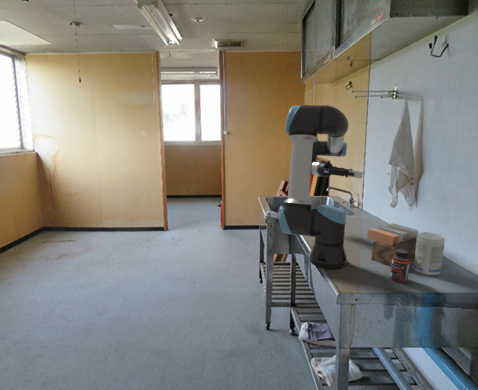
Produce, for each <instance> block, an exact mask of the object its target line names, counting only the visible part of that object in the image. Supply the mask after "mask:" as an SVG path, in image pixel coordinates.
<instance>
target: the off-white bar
mask: <svg viewBox="0 0 478 390" xmlns="http://www.w3.org/2000/svg"><path fill="white" fill-rule="evenodd" d="M387 227H390V228H394V229H397V230H401V231H405V232H408V233H409V237H408V239H410V238H414V237H417V236H418V233H419V230H418V229H415V228H411V227H408V226H404V225H401V224H400V225H399V224H396V223H389V224H387Z"/></svg>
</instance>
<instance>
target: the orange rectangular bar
mask: <svg viewBox="0 0 478 390" xmlns="http://www.w3.org/2000/svg"><path fill="white" fill-rule="evenodd" d="M366 237H367V239H369V240H373V241H378V242H381V243H384V244H387V245H390V246H394V245H395V243H396V242H399V235H396V234H393V233H390V232H386V231H383V230H380V229H378V228H376V227H372V228H368V229H367V236H366Z"/></svg>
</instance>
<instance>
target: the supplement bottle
mask: <svg viewBox="0 0 478 390" xmlns="http://www.w3.org/2000/svg"><path fill="white" fill-rule="evenodd" d="M409 270H410V258H409V257H408V251H406V250H402V249H397V250H396V254H395V255H393V257H392V264H391V267H390V272H389V278H390V279H391V280H392V281H394V282H397V283H406V282H407V281H408V277H409V272H410V271H409Z"/></svg>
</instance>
